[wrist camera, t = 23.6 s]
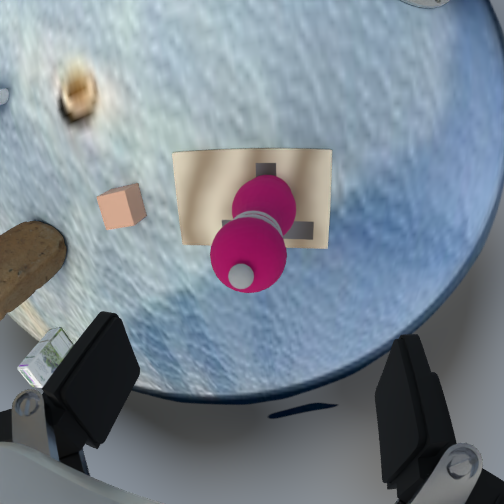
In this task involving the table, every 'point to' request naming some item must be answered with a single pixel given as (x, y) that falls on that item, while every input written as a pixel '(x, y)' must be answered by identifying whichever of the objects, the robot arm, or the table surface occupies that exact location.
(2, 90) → the strainer
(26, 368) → the syrup box
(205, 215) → the board
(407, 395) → the robot arm
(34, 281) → the block
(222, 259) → the pepper mill
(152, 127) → the table surface
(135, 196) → the block
